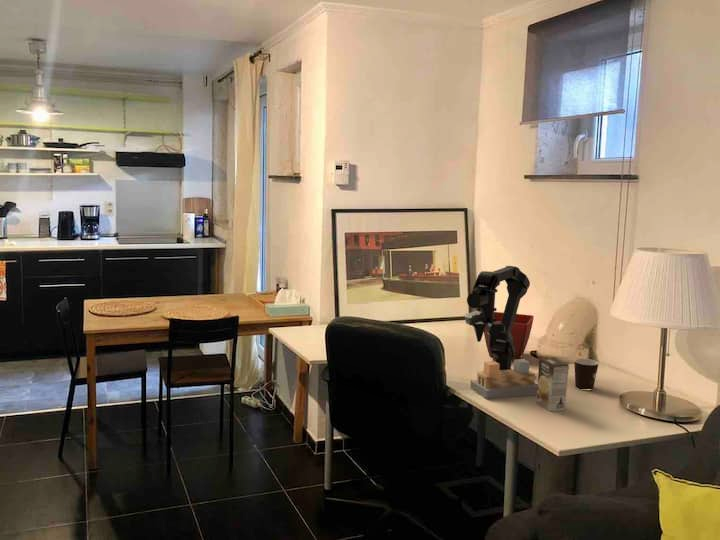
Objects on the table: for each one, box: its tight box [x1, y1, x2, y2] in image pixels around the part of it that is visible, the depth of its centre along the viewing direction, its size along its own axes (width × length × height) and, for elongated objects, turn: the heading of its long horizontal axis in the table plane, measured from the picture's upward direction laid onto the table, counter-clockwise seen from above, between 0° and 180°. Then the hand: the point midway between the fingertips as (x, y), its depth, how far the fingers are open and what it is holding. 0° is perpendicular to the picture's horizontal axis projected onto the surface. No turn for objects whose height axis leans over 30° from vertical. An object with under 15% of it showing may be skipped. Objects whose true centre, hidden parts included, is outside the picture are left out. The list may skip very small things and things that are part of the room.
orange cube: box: [483, 360, 500, 376], centre depth 245 cm, size 4×4×4 cm
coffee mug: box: [573, 358, 599, 390], centre depth 255 cm, size 12×9×10 cm
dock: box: [470, 379, 538, 400], centre depth 248 cm, size 22×12×3 cm, turn 108°
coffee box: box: [535, 356, 570, 412], centre depth 232 cm, size 9×6×16 cm
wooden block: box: [476, 368, 536, 388], centre depth 247 cm, size 20×6×4 cm, turn 108°
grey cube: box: [513, 358, 531, 373], centre depth 249 cm, size 4×4×4 cm
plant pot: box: [483, 311, 534, 360], centre depth 296 cm, size 19×19×17 cm
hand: (484, 344), depth 262 cm, fingers open, 9 cm apart
